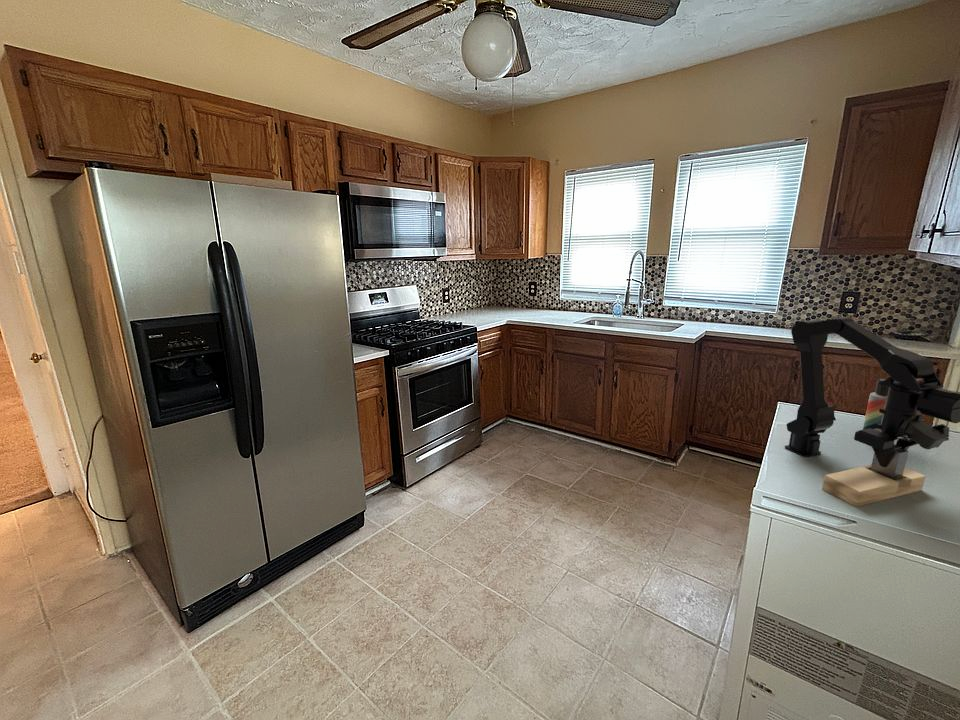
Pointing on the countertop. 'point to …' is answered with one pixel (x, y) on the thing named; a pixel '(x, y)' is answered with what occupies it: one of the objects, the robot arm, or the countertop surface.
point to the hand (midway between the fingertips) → (887, 465)
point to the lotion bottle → (876, 406)
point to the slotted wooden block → (870, 485)
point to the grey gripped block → (892, 465)
